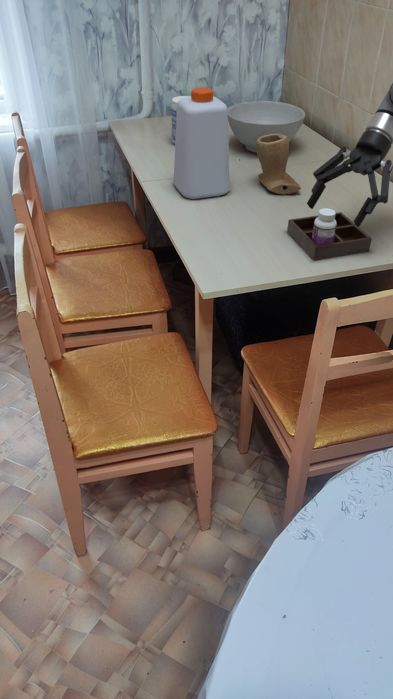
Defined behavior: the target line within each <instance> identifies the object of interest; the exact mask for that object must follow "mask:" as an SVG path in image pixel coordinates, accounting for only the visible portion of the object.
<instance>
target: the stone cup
mask: <svg viewBox="0 0 393 699" xmlns="http://www.w3.org/2000/svg"><path fill="white" fill-rule="evenodd" d="M256 150H257V153H256V155H257V159H258V162H259V163H260V166H261V167H260V168H261V171H262V172H261V173H259V174H258V180H259V182H260V183H261V184H262V185H263V186H264V187H265V188H266V189H267V190H269V191H270V192H271V193H275V194H279V195H289V194H293V193H297V192H299V191H301V190H302V187H301V185H300V184H299V183H298V182H297V181H296V180H295V179H294V177H293V176H291V175H290V174H289V173H288V172H286V171H287V164H288V161H289V155H290V141H288V138H287V137H286V136H284V135H282V134H269V135H264V136H262V137H260V138H258V139H257V141H256Z"/></svg>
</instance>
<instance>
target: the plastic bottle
mask: <svg viewBox="0 0 393 699" xmlns="http://www.w3.org/2000/svg"><path fill="white" fill-rule="evenodd" d="M190 96H191V97H188V98H182V99H180V100H179V101H178V103H177V119H176V141H175V144H174V164H173V184H174V186H175V188H176V189H177V190H178V191H179V193H180V194H181V195H182V196H183V197H185V199H190V200H198V199H199V200H200V199H205V198H212V197H219V196H224V195H225V194H228V192H229V191H230V186H231V185H230V154H229V152H230V150H229V122H228V106H227V104H225V103H224V102H223V101H222V100H221V99H220V98H218V97H216V96H214V90H213V89H212V88H209V87H196V88H195V87H194V88H193V89H192V90H191V91H190Z"/></svg>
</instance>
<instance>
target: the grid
mask: <svg viewBox="0 0 393 699" xmlns="http://www.w3.org/2000/svg"><path fill="white" fill-rule="evenodd" d="M317 217H318V215H312V216H304V217H297V218H291V219H288V222H287V231H286V232H287V235H289V236H290V237H291V238H292V239H293V240H294V241H295V243H297V244H298V245H299V246H300V248H301V249H302V250H303V251H304V252H305V253H306V254H307V256H309V258H311V259H312V260H313V261H319V260H323V259H330V258H331V259H332V258H337V257H343V256H349V255H355V254H359V253H361V254H362V253H366V252H370V248H371V243H372V237H371V236H370V235H369V234H367V233H366V232H365V231H364V230H363V229H361V227H358V226H356V225H355V223H354V221H352V220H351V219H350V218H349V217H348V216H347V215H345V214H344V213H343V212H341V211H339V212H336V214H335V218H334V219H335V220H336V222H337V224H336V230H335V235H334V241H333V243H330V244H324V245H316V244H315V243H314V242H313V241H312V234H313V228H314V222H315V219H316V218H317Z"/></svg>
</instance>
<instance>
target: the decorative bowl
mask: <svg viewBox="0 0 393 699" xmlns="http://www.w3.org/2000/svg"><path fill="white" fill-rule="evenodd" d="M227 109H228V126H229V127H230V129H231V131H232V134H234V137H236V138H237V140H238V141H239V142H240V143H241V144H242V145H244V146H245V148H246V150H247V151H250V152H252V153H255V154H257V150H256V141H257V139H258V138H260V137H262V136H264V135H269V134H282V135H284V136H286V137H287V138H288V141H289V142H290V141H292V139H293V138H294V137H295V136H296V135H297V133H298V132H299V131H300V129H301V127H302V126H303V123H304V121H305V118H306V112H305V110H303V108H301V107H299V106H296V105H294V104H290V103H286V102H282V101H273V100H251V101H243V102H239V103H235V104H232V105H231V106H229V107H227Z"/></svg>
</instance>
